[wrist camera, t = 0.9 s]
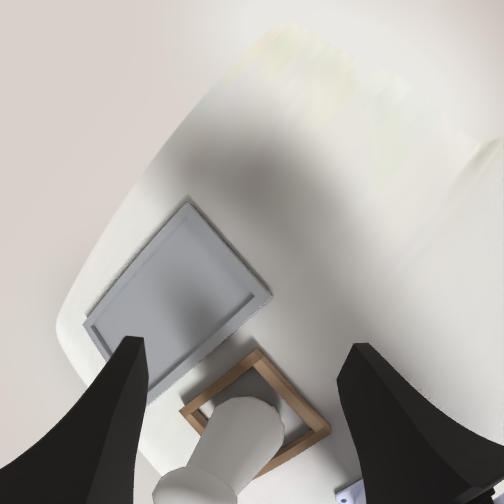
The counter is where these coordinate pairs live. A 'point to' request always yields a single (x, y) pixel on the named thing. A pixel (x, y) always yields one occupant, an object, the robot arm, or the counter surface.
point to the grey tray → (177, 300)
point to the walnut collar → (282, 388)
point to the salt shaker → (225, 454)
